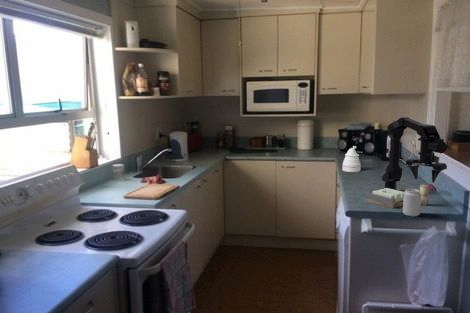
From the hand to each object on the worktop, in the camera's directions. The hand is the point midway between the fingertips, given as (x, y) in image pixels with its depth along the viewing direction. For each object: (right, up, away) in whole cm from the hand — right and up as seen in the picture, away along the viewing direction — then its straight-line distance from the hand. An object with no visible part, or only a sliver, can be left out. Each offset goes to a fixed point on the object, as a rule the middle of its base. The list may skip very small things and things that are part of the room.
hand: (424, 180), depth 191 cm
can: (-13, -15, -13) cm, 24 cm away
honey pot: (-9, +2, +90) cm, 90 cm away
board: (-13, -12, +9) cm, 20 cm away
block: (-15, -10, +8) cm, 20 cm away
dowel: (0, -12, +2) cm, 13 cm away
